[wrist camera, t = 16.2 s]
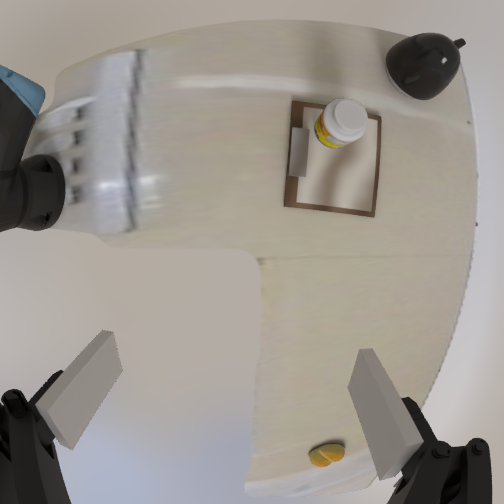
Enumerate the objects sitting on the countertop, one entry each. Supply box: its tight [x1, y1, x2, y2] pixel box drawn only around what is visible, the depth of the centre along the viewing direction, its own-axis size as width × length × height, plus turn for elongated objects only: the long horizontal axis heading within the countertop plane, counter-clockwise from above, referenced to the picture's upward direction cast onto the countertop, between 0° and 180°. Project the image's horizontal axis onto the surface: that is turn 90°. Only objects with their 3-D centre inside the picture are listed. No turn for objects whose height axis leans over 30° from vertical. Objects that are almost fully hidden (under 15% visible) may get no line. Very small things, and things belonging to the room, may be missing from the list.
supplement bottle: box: [314, 98, 368, 149], centre depth 30 cm, size 6×6×10 cm
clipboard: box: [284, 101, 381, 217], centre depth 36 cm, size 14×16×2 cm
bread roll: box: [309, 444, 345, 467], centre depth 50 cm, size 8×9×4 cm
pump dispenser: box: [386, 33, 466, 100], centre depth 25 cm, size 10×10×15 cm
